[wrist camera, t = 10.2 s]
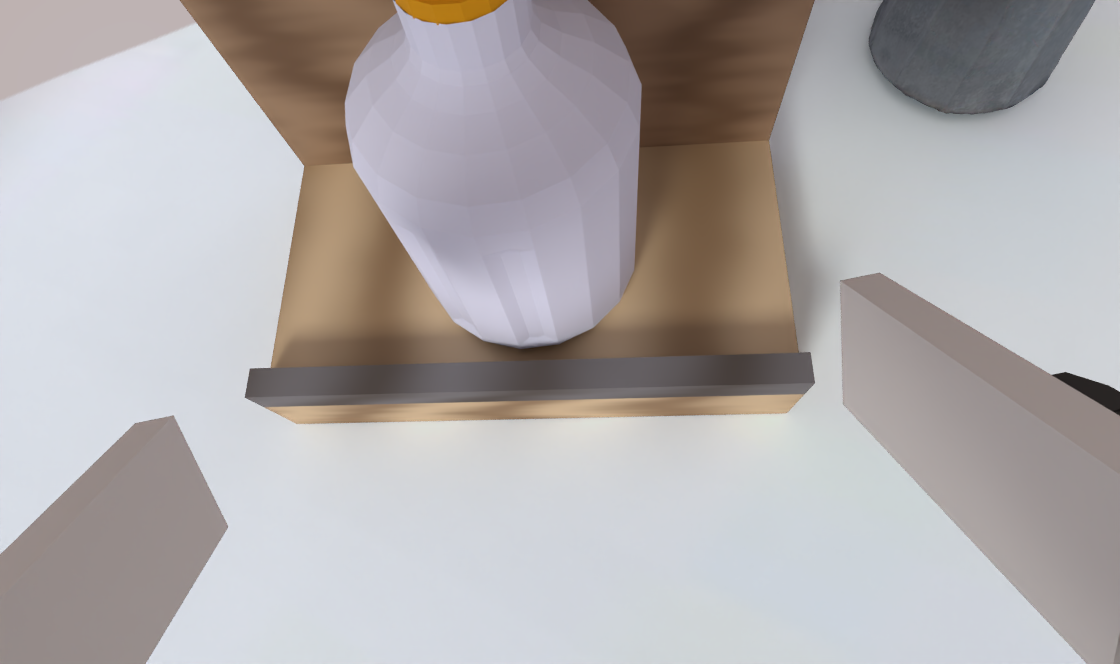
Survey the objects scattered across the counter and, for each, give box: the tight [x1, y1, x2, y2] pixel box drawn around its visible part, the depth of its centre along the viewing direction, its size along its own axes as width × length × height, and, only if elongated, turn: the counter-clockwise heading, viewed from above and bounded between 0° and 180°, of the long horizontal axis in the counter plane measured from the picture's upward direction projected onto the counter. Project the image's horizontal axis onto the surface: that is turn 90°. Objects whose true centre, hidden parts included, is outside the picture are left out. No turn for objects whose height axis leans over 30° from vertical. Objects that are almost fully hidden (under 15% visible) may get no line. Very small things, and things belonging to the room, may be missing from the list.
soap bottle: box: [345, 0, 642, 349], centre depth 18 cm, size 9×9×25 cm
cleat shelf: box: [180, 0, 815, 424], centre depth 18 cm, size 22×14×30 cm, turn 90°
